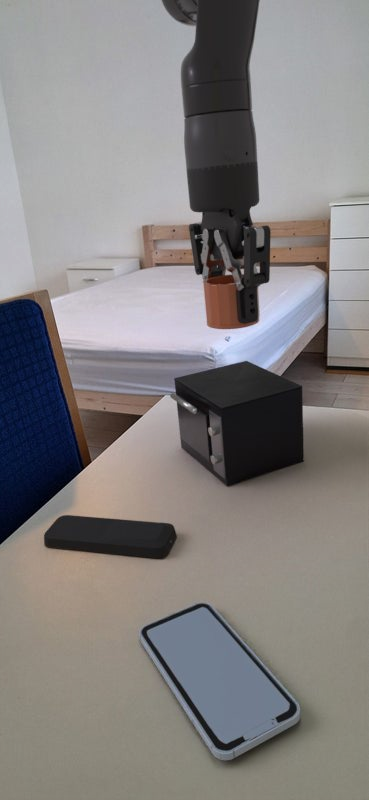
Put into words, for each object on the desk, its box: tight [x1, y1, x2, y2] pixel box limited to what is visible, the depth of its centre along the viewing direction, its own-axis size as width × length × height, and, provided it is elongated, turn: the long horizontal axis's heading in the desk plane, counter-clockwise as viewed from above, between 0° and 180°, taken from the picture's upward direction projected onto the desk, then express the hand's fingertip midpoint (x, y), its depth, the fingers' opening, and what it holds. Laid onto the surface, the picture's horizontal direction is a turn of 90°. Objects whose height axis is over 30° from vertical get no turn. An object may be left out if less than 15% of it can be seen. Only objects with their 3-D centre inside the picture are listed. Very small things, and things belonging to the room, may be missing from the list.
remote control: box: [43, 514, 178, 559], centre depth 68 cm, size 5×2×15 cm
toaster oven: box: [169, 360, 305, 487], centre depth 83 cm, size 14×14×11 cm
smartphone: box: [138, 601, 301, 761], centre depth 49 cm, size 7×1×15 cm
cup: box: [202, 273, 261, 330], centre depth 68 cm, size 6×6×5 cm
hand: (232, 316), depth 69 cm, fingers closed on cup, 6 cm apart
